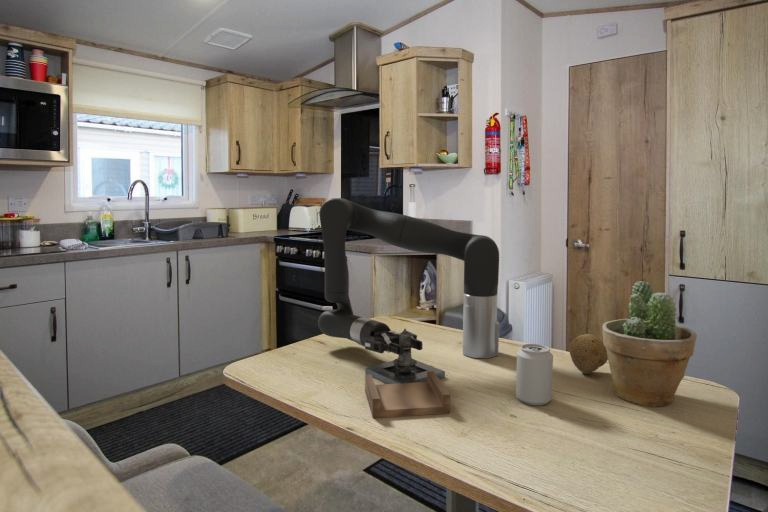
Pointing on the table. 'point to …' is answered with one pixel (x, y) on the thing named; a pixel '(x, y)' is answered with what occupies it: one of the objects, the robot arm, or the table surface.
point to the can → (534, 374)
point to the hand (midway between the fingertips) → (411, 348)
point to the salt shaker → (405, 356)
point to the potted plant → (648, 349)
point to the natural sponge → (588, 353)
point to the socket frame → (385, 375)
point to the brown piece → (407, 397)
